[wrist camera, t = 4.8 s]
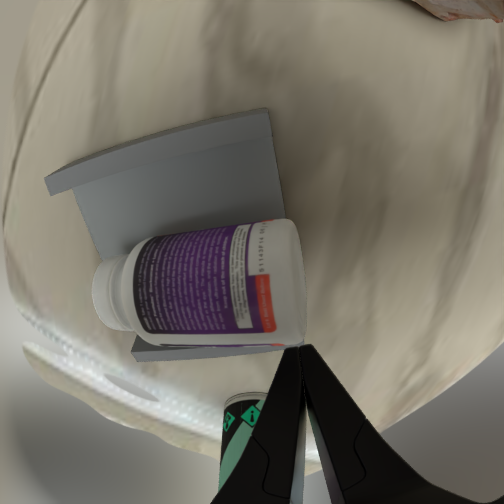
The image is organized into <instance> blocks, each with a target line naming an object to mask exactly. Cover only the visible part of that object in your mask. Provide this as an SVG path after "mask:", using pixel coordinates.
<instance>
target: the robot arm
mask: <svg viewBox="0 0 504 504" xmlns="http://www.w3.org/2000/svg"><path fill="white" fill-rule="evenodd" d="M299 352H300V353H299ZM300 360H301V361H300ZM301 367H302V368H301ZM302 375H303V376H302ZM303 382H304V383H303ZM304 390H305V391H304ZM305 398H306V399H305ZM306 405H307V410H308V415H309V418H310V422H311V426H312V430H313V434H314V437H315V441H316V445H317V449H318V453H319V457H320V460H321V464H322V468H323V472H324V476H325V480H326V484H327V487H328V492H329V495H330V499H331V503H332V504H504V495H503V496H501V497H499V498H497V499H495V500H494V501H492V502H488V503H479V502H475V501H472V500H469V499H467V498H464V497H462V496H460V495H457V494H455V493H452V492H450V491H448V490H445V489H443V488H441V487H439V486H436V485H434V484H432V483H430V482H429V481H427V480H426V479H424V478H423V477H422V476H421V475H420V474H418V473H417V472H416V471H415V470H414V469H413V468H412V467H411V466H410V465H409V464H408V463H407V462H406V461H405V460H404V459H403V458H402V457H401V456H400V455H398V454H397V453H396V452H395V451H394V450H393V449H392V447H391V446H389V444H388V443H387V442H386V441H385V440H384V439H383V438H382V437H381V435H380V434H379V433H378V432H377V430H376V429H375V428H374V427H373V425H372V424H371V423H370V421H369V420H368V419H366V416H365V415H364V414H363V412H362V411H361V410H360V408H359V407H358V406H357V404H356V403H355V401H354V400H353V399H352V397H351V396H350V395H349V393H348V392H347V391H346V389H345V388H344V387H343V385H342V384H341V383H340V381H339V380H338V379H337V377H336V376H335V375H334V373H333V372H332V371H331V369H330V368H329V366H328V365H327V364H326V362H325V361H324V360H323V358H322V357H321V356H320V354H319V353H318V352H317V350H316V349H315V348H314V346H313V345H312V344H306V345H301V346H299V347H298V346H293V347H287V348H286V349H285V350H284V353H283V355H282V358H281V361H280V363H279V366H278V369H277V371H276V374H275V376H274V379H273V381H272V384H271V387H270V389H269V392H268V394H267V397H266V399H265V401H264V404H263V406H262V409H261V411H260V414H259V416H258V418H257V421H256V423H255V426H254V428H253V430H252V433H251V436H250V437H249V439H248V442H247V444H246V446H245V448H244V450H243V452H242V454H241V456H240V458H239V460H238V462H237V464H236V465H235V467H234V469H233V470H232V472H231V474H230V475H229V477H228V478H227V480H226V481H225V483H224V484H223V486H222V487H221V489H220V490H219V492H218V493H217V495H216V496H215V498H214V499H213V500H212V502H211V503H210V504H302V503H303V488H304V470H305V447H306Z"/></svg>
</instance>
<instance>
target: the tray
mask: <svg viewBox="0 0 504 504" xmlns="http://www.w3.org/2000/svg"><path fill="white" fill-rule="evenodd" d="M272 137H273V135H272V130H271V125H270V119H269V114H268V111H267V109H266V108H264V109H258V110H252V111H247V112H242V113H237V114H232V115H227V116H222V117H218V118H213V119H209V120H205V121H200V122H196V123H192V124H188V125H184V126H181V127H177V128H173V129H170V130H166V131H162V132H159V133H156V134H152V135H149V136H145V137H142V138H139V139H136V140H133V141H130V142H127V143H124V144H121V145H118V146H115V147H112V148H109V149H106V150H103V151H101V152H98V153H95V154H92V155H90V156H87V157H85V158H82V159H79V160H77V161H74V162H72V163H69V164H67V165H65V166H63V167H62V168H60V169H58V170H57V171H55V172H53V173H52V174H50V175H48V176H47V177H45V178H44V180H45V183H46V185H47V188H48V191H49V193H50V196H52V195H55V194H58V193H60V192H63V191H66V190H69V189H71V188H72V190H73V193H74V195H75V198H76V201H77V203H78V206H79V208H80V211H81V213H82V216H83V218H84V221H85V223H86V225H87V228H88V230H89V233H90V235H91V237H92V239H93V242H94V244H95V246H96V248H97V251H98V253H99V255H100V257H101V259H102V261H103V260H105V259H106V258H108V257H112V256H118V255H123V254H130V253H131V251H132V250H133V249H134V247H135V246H136V245H137V244H139V243H140V242H142V241H143V240H145V239H148V238H151V237H155V236H161V235H169V234H176V233H183V232H190V231H196V230H202V229H210V228H216V227H223V226H230V225H237V224H244V223H250V222H257V221H264V220H272V219H286V215H285V209H284V203H283V197H282V191H281V185H280V180H279V174H278V168H277V162H276V157H275V151H274V146H273V141H272ZM301 345H304V339H303V341H302V342H300V343H298V344H293V345H283V346H265V347H168V346H158V345H153V344H150V343H148V342H146V341H145V340H143V339H142V338H141V337H140V336H139V335H138V334H137V337H136V339H135V342H134V345H133V347H132V350H131V353H132V355H133V356H134V358H135V359H136V361H137V362H147V361H171V360H189V359H203V358H215V357H226V356H236V355H246V354H255V353H263V352H271V351H278V350H285V349H286V348H287V347H293V346H298V347H299V346H301Z"/></svg>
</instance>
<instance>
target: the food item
mask: <svg viewBox="0 0 504 504" xmlns="http://www.w3.org/2000/svg"><path fill="white" fill-rule="evenodd" d="M412 1H414V2H416V3H418V4H419V5H421V6H422V7H423V8H425V9H426V10H427V11H429V12H430V13H432V14H433V15H435V16H437V17H439V18H440V19H442V20H444V21H450V20H456V19H481V20H482V19H493V20H494V21H495V22H496V23H499V22H503V19H504V0H412Z"/></svg>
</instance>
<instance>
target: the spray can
mask: <svg viewBox="0 0 504 504" xmlns="http://www.w3.org/2000/svg"><path fill="white" fill-rule="evenodd" d="M266 397H267V394H265V393H244V394H240V395H236V396H234V397H232V398H230V399H229V400H228V401H227V402H226V403H225V408H224V419H223V432H222V445H221V459H220V474H219V489H218V492H219V490H220V489H221V487H222V486H223V484H224V483H225V481H226V480H227V478H228V477H229V475H230V474H231V472H232V470H233V469H234V467H235V465H236V464H237V462H238V460H239V458H240V456H241V454H242V452H243V450H244V448H245V446H246V444H247V442H248V439H249V437H250V436H251V433H252V430H253V428H254V426H255V423H256V421H257V418H258V416H259V414H260V411H261V409H262V406H263V404H264V401H265V399H266Z"/></svg>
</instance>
